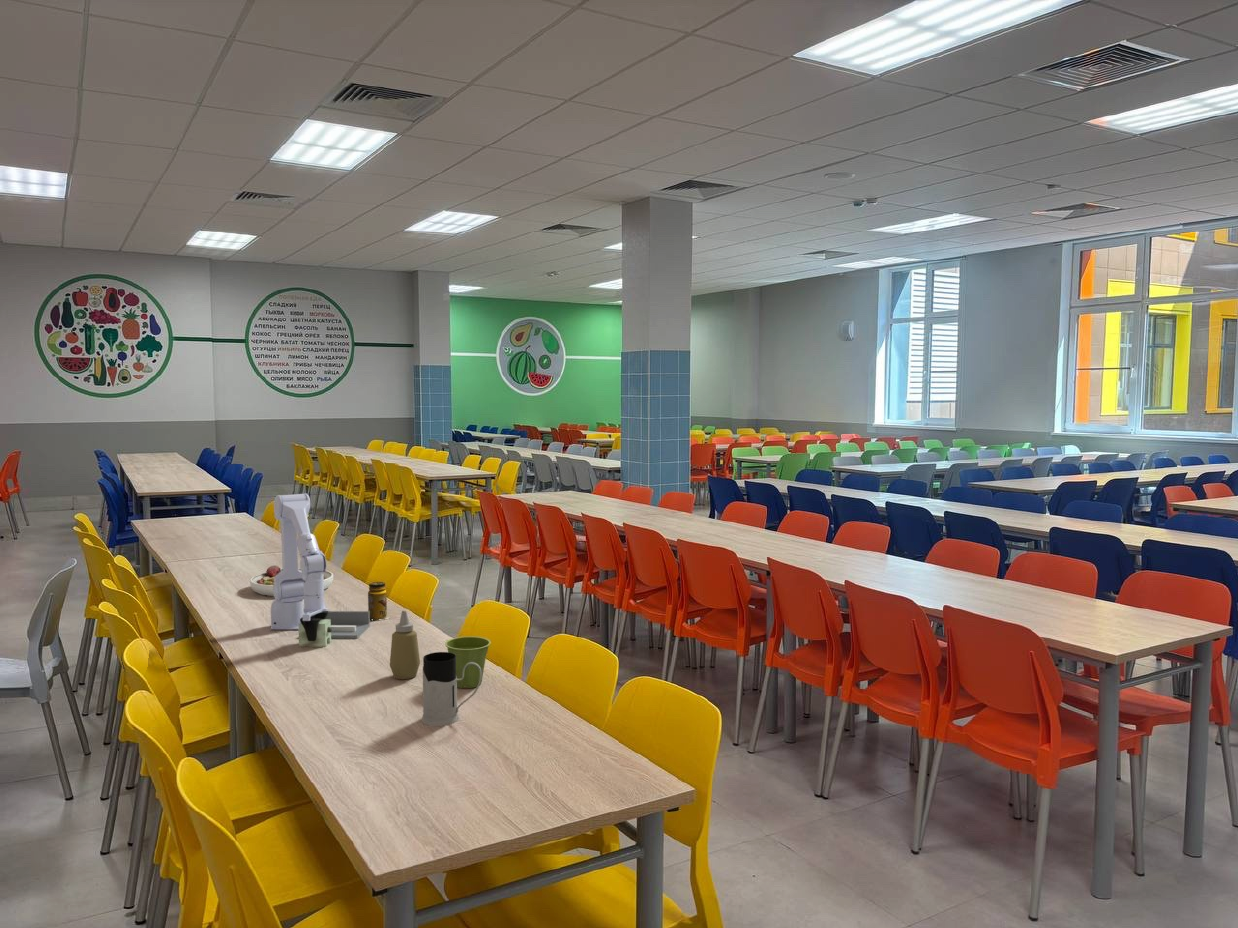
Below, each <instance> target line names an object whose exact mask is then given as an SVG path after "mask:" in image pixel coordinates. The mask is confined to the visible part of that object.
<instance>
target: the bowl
mask: <svg viewBox="0 0 1238 928" xmlns="http://www.w3.org/2000/svg"><path fill="white" fill-rule="evenodd" d="M282 570H283V568H282V569H281V568H280V567H279V566H278V565H271V566H269V567H268V568H267V569H266V572H264V573H260V574H257V575H255V576H252V577H251V578H250V579H249V580H250V581H249V583H250V584H249V585H250V588H251V589H252V590H253V591H254V592H255V593H257V594H259V595H261V596H266V595H267V597H274V594H273V584H274V577H275V576H276V575H277V574H278V573H279V572H281V571H282ZM298 570H300V571H301V568H298ZM323 575H324V590H327V589H328V588H329V587H330V586H331V585H332V584H333V581H334V573H333V572H331V571H329V570H326V571H325V572H323ZM297 579H299V578H297ZM289 580H291V579H289Z"/></svg>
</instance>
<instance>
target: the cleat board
mask: <svg viewBox="0 0 1238 928" xmlns="http://www.w3.org/2000/svg"><path fill="white" fill-rule="evenodd" d="M327 611H328V615H327V617H326V619H331V627H332V632H331V639H342V640H343V639H345V640H346V639H348V640H349V639H353V640H354V639H356V640H357V639H358V638H360V637H361V635H362V634H364V633H365V632H366V630H367V629H368V628H370V627H371V621H370V611H368V610H327Z"/></svg>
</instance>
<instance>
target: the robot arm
mask: <svg viewBox="0 0 1238 928" xmlns="http://www.w3.org/2000/svg"><path fill="white" fill-rule="evenodd" d="M310 498H311V497H310V495H308V493H305V492H304V493H297V494H283V495H282V494H281V495H280V494H277V495H276V496H275V498H274V501H273V513H274V519H275V520H278V521H279V522H280V530H281V531H280V534H281V560H282V563H281V564H282V569H283V570H282V569H281V570H282V571H281V572H279V573H278V574H277V575H276V576H275V577H274V584H273V594H274V596H273V598H274V600H273V601H272V602H271V606H270V624H271V625H270V628H269V629H270V630H278V631H279V630H285V631H286V630H288V631H289V630H292V631H293V630H294V631H295V630H296V631H297V630H298V631H299V629H298V624H299V623H300V622H301V624H302V625H303V627H304V629H305V632H306V636H307V639H308V641H315V640H316V636H317V628H318V624H319V621H320V619H326V617H327V615H328V611H329V607H328V606H327V607H326V602H325V589H324V575H323V572H325V571H327V559H326V555H325V554H324V553H323V551H322V550H320V547H319V545H318V541H317V538H316V536H315V534H313V533H311V530H310V524H309V520H308V515H309V513H310V511H311V499H310ZM298 553H299V556H300V561H299V556H298ZM299 562H300V563H299ZM299 566H300V568H299ZM298 569H301V571H300V570H298ZM297 578H299V579H297ZM289 579H291V580H289Z"/></svg>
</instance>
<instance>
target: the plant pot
mask: <svg viewBox="0 0 1238 928" xmlns="http://www.w3.org/2000/svg"><path fill="white" fill-rule="evenodd" d="M491 643H492V642H491V640H490V639H488V638H486V637H481V636H473V635H472V636H470V635H469V636H459V637H454V638H451V639H448V640H446V641H445V642H444V645H445V647H446V648H447V652H449V653H453V654H455V655H456V676H457V679H461V678H462V671H463V668H464V666H465V665H466V664H467V663H470V662H474V663H477V664H478V665H479V666H480V668H481V672H482V675H481V682H480V685H481V684H482V682H483V677H484V671H485V669H484V668H485V664H486V659H487V654H488V652H489V651H488V650H489V647H490V645H491ZM479 679H480V671H479V668H478V667H477V666H476V665H474V664H469V665H468V666H466V668H465V670H464V678H463V679H462V680H460V681H457V688H460V689H463V688H468V689H473V688H477V686H478V683H479ZM480 685H479V686H480Z"/></svg>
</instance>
